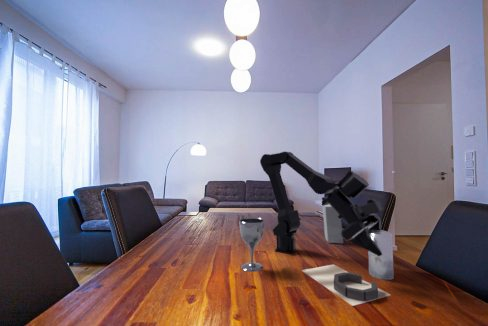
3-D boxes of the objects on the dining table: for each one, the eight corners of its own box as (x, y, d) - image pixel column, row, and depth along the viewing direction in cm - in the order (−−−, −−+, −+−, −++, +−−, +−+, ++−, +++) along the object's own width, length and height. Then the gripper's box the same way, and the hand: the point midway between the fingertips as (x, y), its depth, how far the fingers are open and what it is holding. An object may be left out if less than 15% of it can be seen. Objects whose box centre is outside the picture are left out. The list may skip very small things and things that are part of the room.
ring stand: (301, 273, 66) (301, 263, 66) (333, 267, 70) (333, 257, 71) (352, 310, 49) (352, 296, 49) (391, 299, 53) (390, 286, 53)
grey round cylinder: (374, 283, 60) (373, 234, 61) (365, 273, 66) (364, 229, 67) (398, 284, 60) (396, 235, 60) (386, 274, 66) (385, 229, 66)
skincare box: (343, 244, 93) (342, 206, 94) (325, 243, 95) (324, 206, 96) (339, 238, 102) (338, 203, 102) (322, 237, 103) (322, 203, 104)
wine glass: (266, 263, 74) (266, 218, 75) (260, 273, 66) (260, 223, 67) (244, 260, 77) (244, 217, 77) (236, 270, 69) (235, 221, 70)
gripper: (351, 192, 61) (401, 242, 52) (372, 188, 74) (415, 228, 65) (324, 217, 66) (366, 266, 57) (348, 210, 79) (385, 248, 70)
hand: (385, 250), depth 62 cm, fingers open, 9 cm apart
